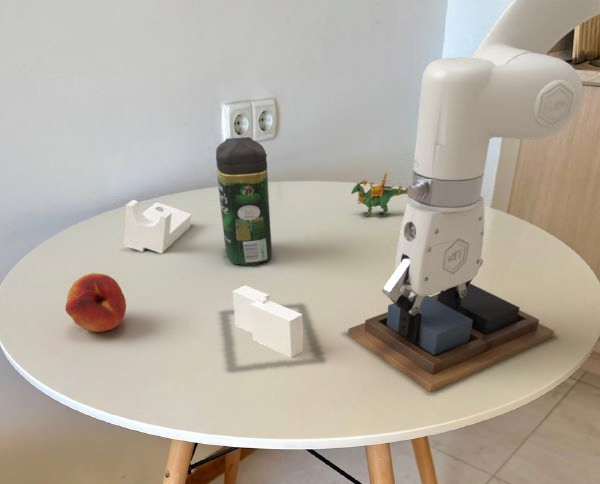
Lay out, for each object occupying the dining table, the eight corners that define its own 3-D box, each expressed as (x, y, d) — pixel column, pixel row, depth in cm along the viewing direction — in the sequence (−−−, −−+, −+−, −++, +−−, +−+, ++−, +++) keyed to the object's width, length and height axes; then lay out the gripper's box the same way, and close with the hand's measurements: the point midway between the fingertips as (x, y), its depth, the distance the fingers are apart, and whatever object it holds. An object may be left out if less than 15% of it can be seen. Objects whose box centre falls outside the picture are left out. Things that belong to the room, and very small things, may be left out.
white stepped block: (321, 360, 75) (321, 320, 71) (231, 370, 73) (227, 330, 70) (300, 305, 87) (299, 269, 83) (222, 313, 85) (218, 276, 82)
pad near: (434, 313, 82) (437, 293, 80) (465, 301, 85) (468, 282, 83) (483, 340, 76) (487, 320, 74) (515, 327, 79) (520, 307, 77)
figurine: (350, 212, 118) (351, 170, 113) (410, 212, 117) (415, 170, 112) (350, 218, 115) (352, 175, 110) (412, 218, 115) (416, 175, 110)
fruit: (69, 346, 79) (53, 291, 74) (75, 317, 85) (61, 265, 80) (130, 339, 80) (118, 285, 75) (131, 311, 86) (120, 259, 81)
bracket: (161, 258, 104) (165, 218, 99) (123, 245, 104) (125, 204, 99) (189, 231, 114) (194, 193, 109) (155, 219, 114) (158, 181, 109)
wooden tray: (347, 335, 80) (348, 318, 78) (464, 292, 89) (466, 277, 88) (430, 392, 69) (432, 375, 68) (552, 337, 79) (557, 320, 77)
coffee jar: (223, 246, 105) (212, 135, 94) (267, 243, 106) (261, 132, 95) (227, 269, 97) (216, 150, 86) (275, 265, 98) (269, 147, 87)
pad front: (386, 325, 78) (388, 304, 76) (420, 312, 81) (422, 292, 79) (434, 355, 72) (437, 334, 70) (469, 340, 74) (473, 319, 73)
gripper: (409, 213, 59) (395, 364, 70) (526, 181, 66) (496, 322, 77) (363, 194, 64) (356, 337, 75) (475, 166, 71) (454, 301, 82)
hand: (427, 328), depth 76 cm, fingers closed on pad front, 5 cm apart
